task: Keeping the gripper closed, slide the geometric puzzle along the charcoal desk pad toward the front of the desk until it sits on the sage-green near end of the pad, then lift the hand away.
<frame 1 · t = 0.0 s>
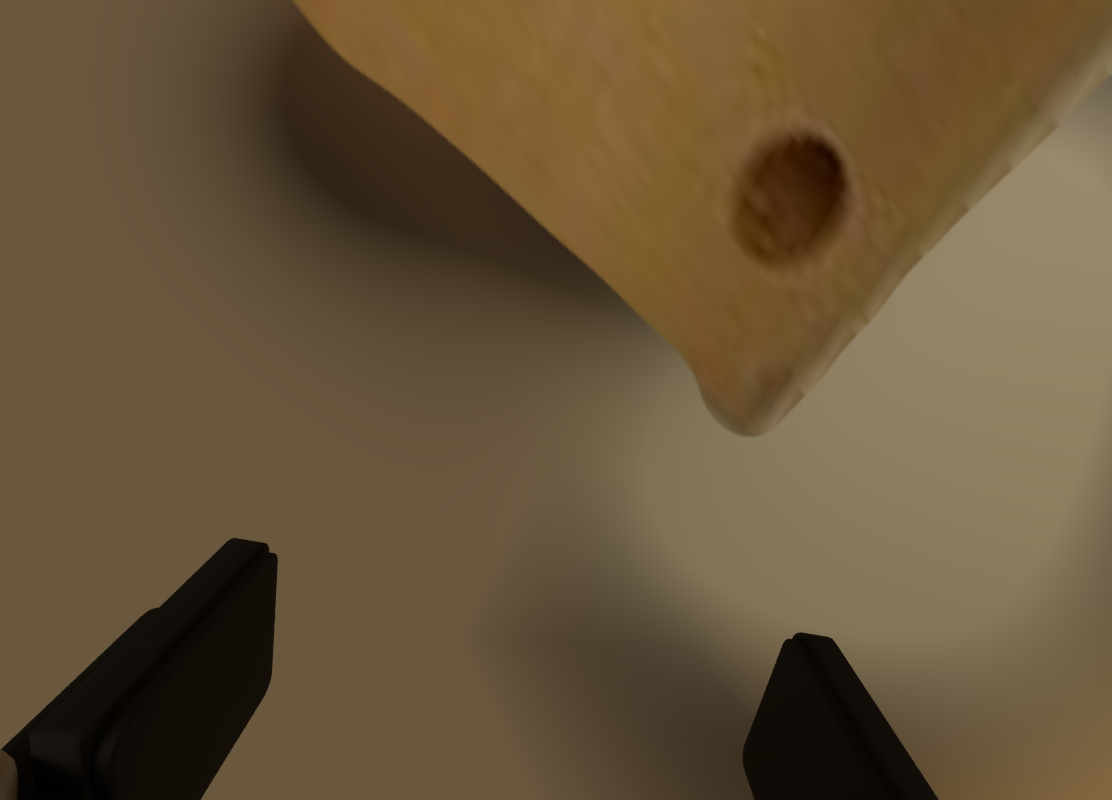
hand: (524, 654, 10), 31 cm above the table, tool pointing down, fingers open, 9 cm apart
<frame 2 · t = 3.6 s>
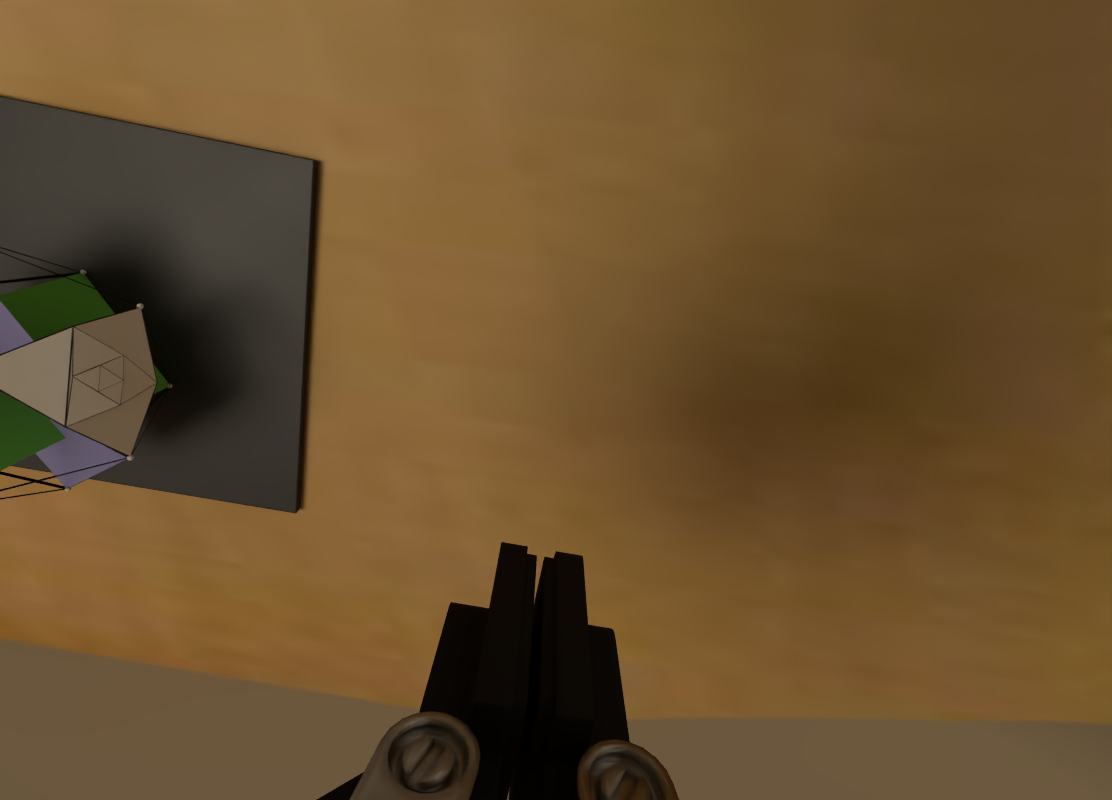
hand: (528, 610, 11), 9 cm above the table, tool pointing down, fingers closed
geometric puzzle: (105, 346, 19), resting on desk pad
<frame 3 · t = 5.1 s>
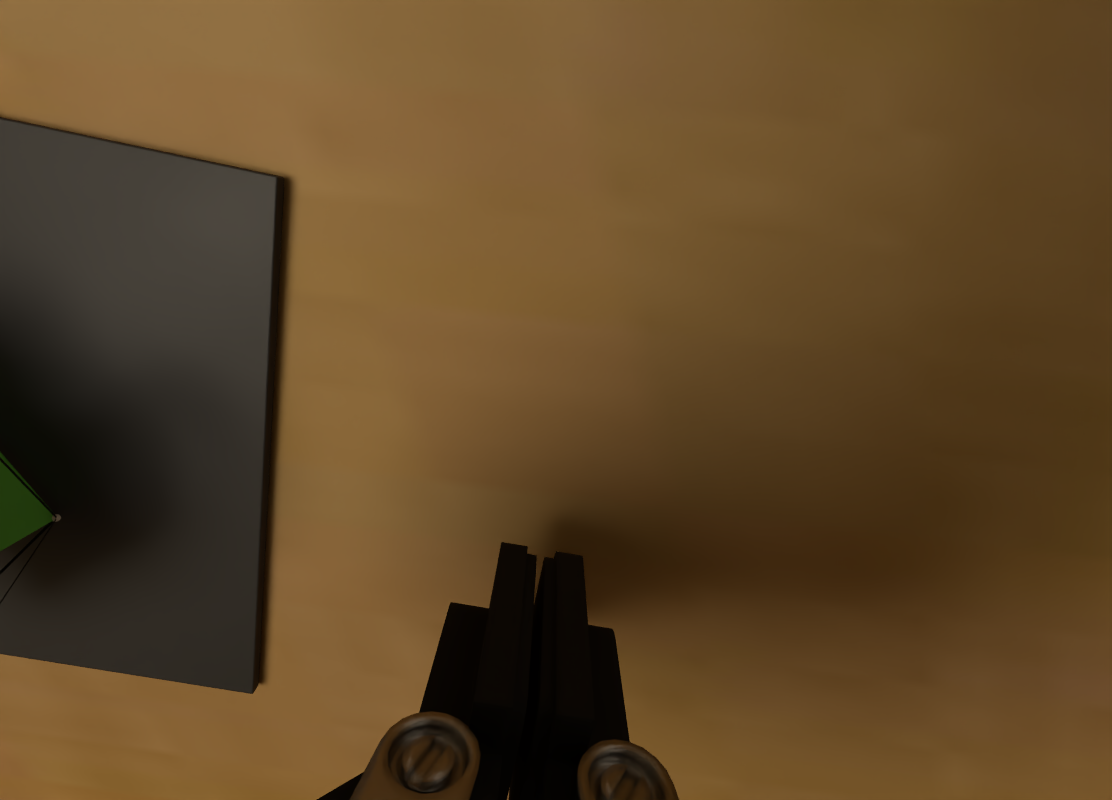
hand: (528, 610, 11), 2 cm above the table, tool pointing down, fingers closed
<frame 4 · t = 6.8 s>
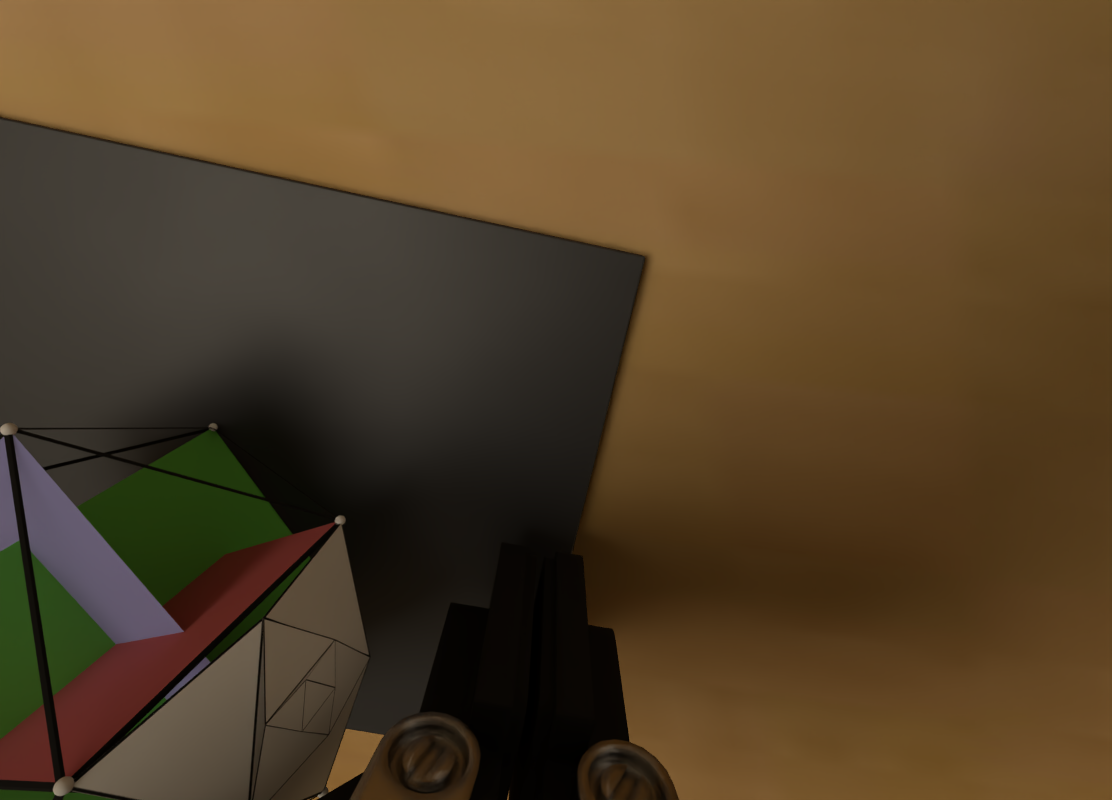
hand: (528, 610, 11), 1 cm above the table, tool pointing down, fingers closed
geometric puzzle: (235, 529, 12), resting on desk pad, touching gripper
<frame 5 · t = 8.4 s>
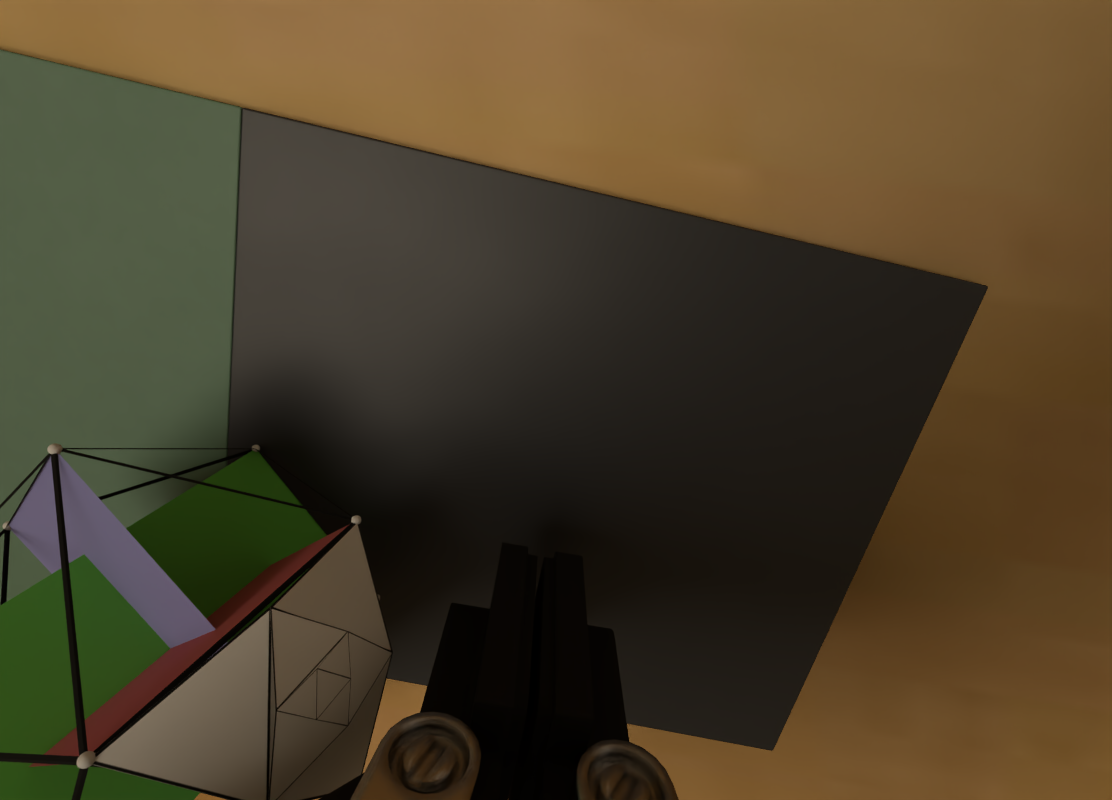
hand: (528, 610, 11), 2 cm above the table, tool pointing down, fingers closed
geometric puzzle: (286, 544, 13), resting on desk pad, touching gripper
desk pad: (283, 425, 12), on the table
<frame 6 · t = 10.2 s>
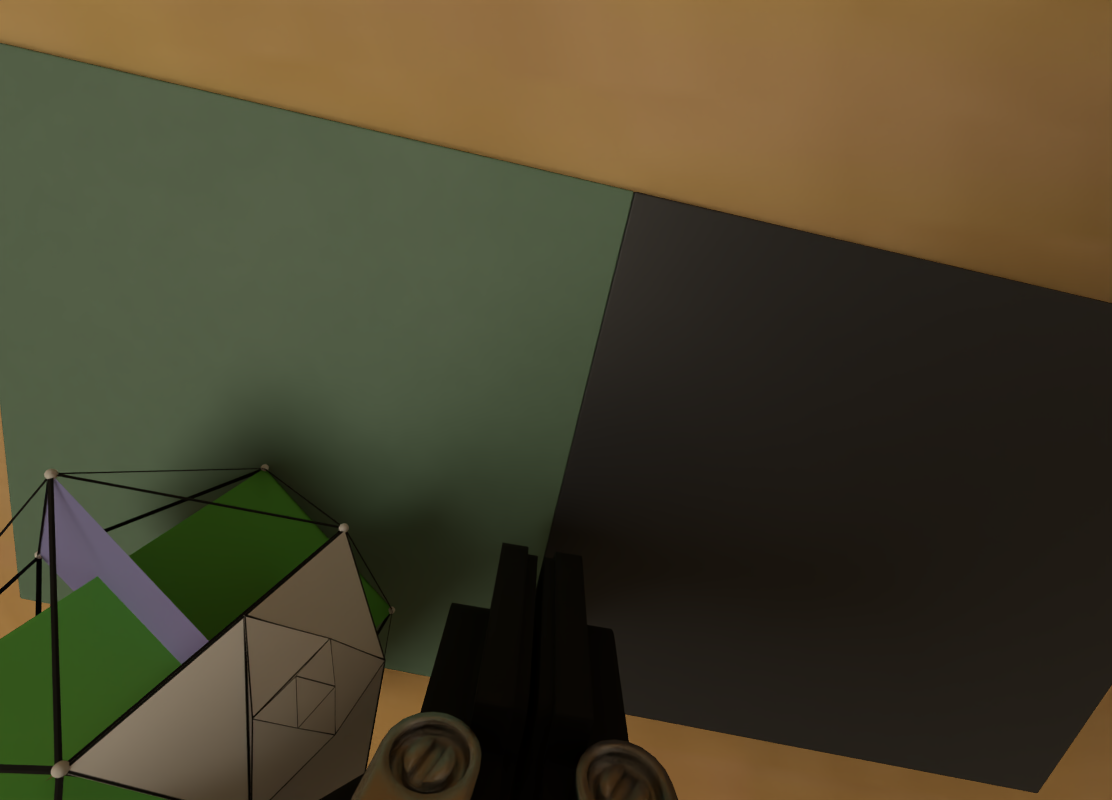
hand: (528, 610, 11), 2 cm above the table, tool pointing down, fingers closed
geometric puzzle: (304, 561, 13), resting on desk pad, touching gripper
desk pad: (607, 484, 13), on the table
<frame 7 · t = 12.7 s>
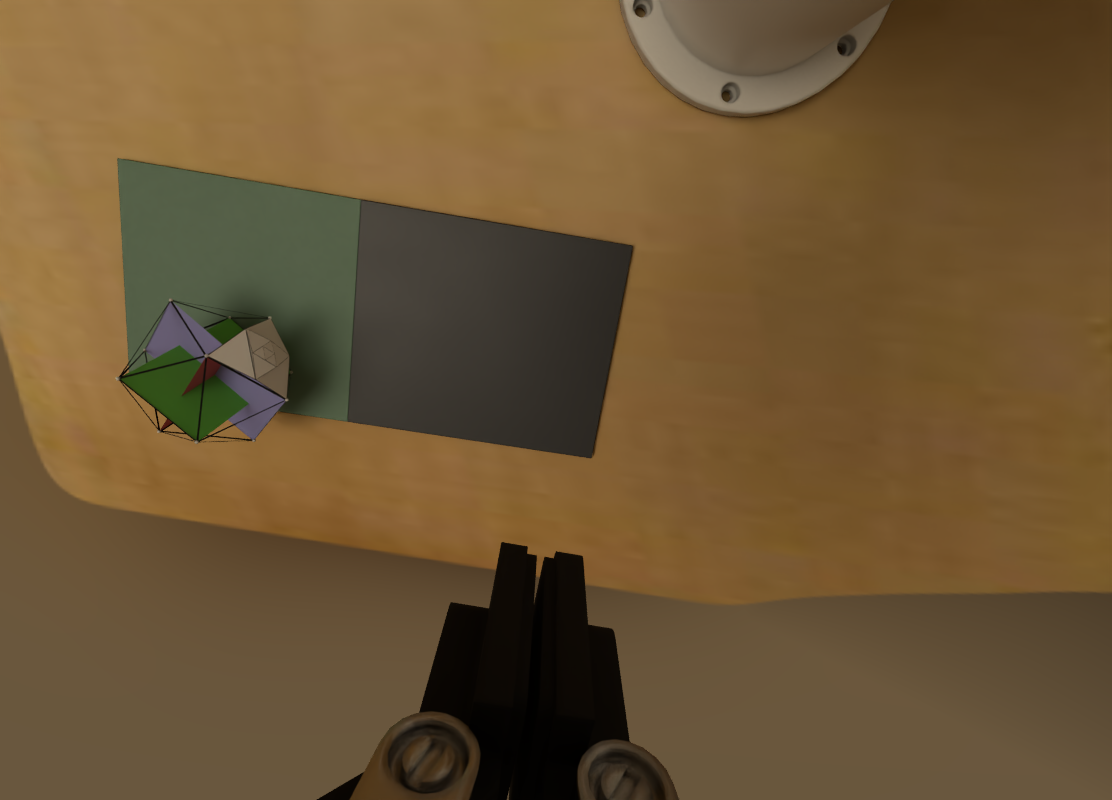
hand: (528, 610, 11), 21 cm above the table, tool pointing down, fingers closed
geometric puzzle: (250, 359, 31), resting on desk pad
desk pad: (374, 319, 31), on the table
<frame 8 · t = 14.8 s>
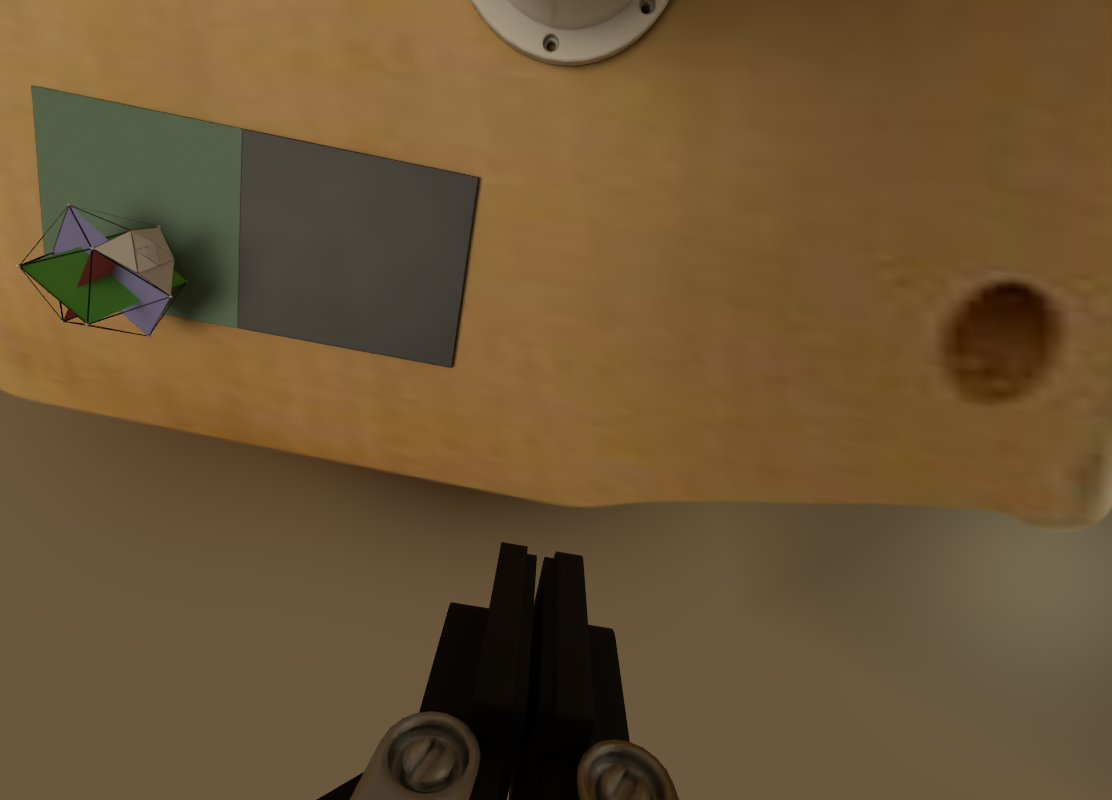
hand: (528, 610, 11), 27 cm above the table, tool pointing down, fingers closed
geometric puzzle: (151, 269, 36), resting on desk pad
desk pad: (258, 236, 35), on the table
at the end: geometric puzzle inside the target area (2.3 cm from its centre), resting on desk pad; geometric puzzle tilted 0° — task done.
